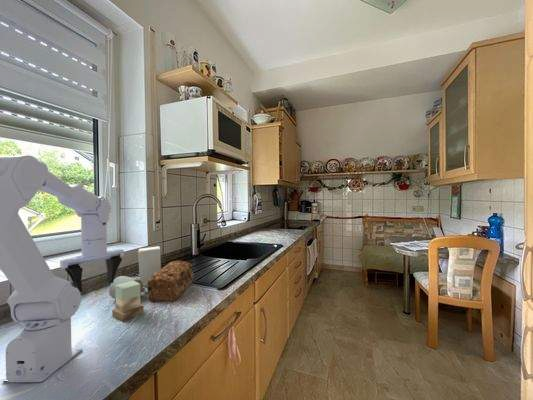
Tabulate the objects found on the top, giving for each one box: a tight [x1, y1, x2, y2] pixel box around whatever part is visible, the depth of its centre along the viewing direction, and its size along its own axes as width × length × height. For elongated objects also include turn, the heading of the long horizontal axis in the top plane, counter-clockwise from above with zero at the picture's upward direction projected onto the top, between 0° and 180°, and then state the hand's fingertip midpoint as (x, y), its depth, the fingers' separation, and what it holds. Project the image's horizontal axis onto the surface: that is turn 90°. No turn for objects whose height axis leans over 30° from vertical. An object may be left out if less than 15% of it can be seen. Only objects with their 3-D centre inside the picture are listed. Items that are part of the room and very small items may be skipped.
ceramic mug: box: [108, 275, 146, 300], centre depth 81 cm, size 11×8×8 cm
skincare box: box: [137, 245, 162, 287], centre depth 94 cm, size 8×6×15 cm
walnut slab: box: [111, 304, 145, 323], centre depth 68 cm, size 6×6×2 cm
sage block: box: [115, 281, 141, 301], centre depth 68 cm, size 5×5×4 cm
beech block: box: [115, 295, 141, 313], centre depth 69 cm, size 5×5×4 cm
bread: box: [146, 259, 195, 303], centre depth 85 cm, size 19×11×10 cm, turn 179°
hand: (95, 286), depth 64 cm, fingers open, 7 cm apart
